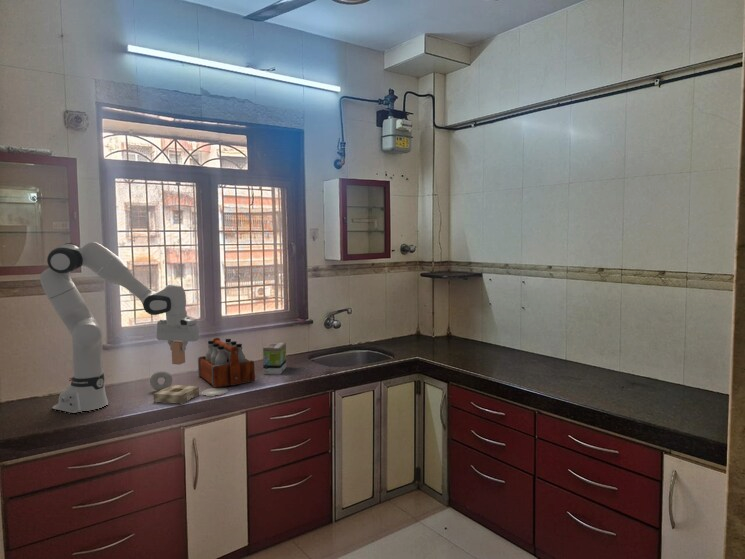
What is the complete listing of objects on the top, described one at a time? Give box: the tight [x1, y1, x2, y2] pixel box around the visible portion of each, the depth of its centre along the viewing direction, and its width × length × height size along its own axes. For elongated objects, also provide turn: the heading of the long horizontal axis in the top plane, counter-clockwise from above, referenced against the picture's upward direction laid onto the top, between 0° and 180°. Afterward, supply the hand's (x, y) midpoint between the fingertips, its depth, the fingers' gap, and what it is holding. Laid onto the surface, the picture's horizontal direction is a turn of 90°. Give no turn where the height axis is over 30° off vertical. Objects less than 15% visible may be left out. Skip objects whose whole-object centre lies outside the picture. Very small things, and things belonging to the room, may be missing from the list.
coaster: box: [200, 387, 228, 397], centre depth 240 cm, size 12×12×1 cm
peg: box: [171, 341, 186, 365], centre depth 230 cm, size 4×4×10 cm
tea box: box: [262, 342, 287, 375], centre depth 278 cm, size 15×10×15 cm
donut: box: [149, 369, 173, 392], centre depth 243 cm, size 10×4×10 cm, turn 108°
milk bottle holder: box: [197, 337, 256, 388], centre depth 262 cm, size 21×35×19 cm, turn 33°
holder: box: [152, 384, 200, 405], centre depth 231 cm, size 14×14×4 cm
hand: (178, 350), depth 230 cm, fingers closed on peg, 4 cm apart
